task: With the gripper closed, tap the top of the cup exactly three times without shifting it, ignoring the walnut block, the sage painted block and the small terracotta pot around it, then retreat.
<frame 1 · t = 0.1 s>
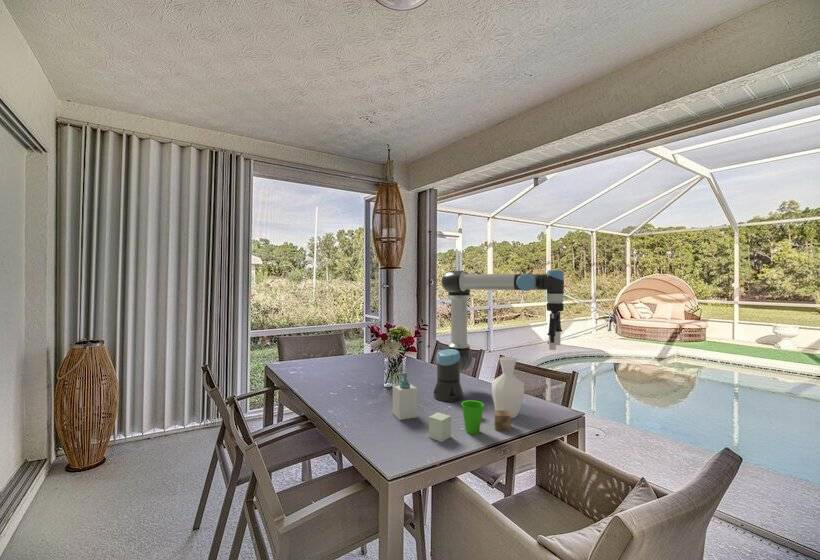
hand: (555, 347, 174), 28 cm above the table, fingers open, 13 cm apart
terracotta pot: (471, 416, 161), on the table
sage block: (439, 437, 140), on the table
soap bottle: (404, 415, 162), on the table
vase: (507, 415, 163), on the table
walnut block: (502, 427, 149), on the table
cup: (472, 432, 145), on the table
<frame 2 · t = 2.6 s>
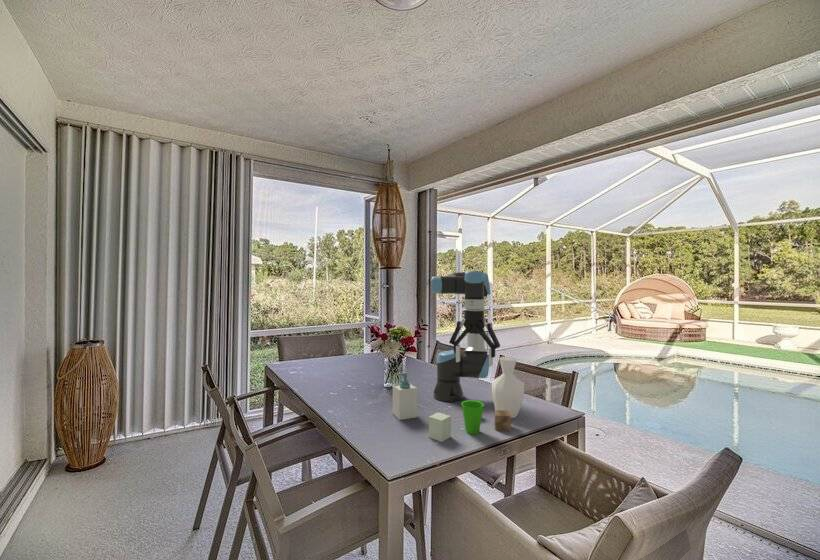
hand: (474, 363, 145), 27 cm above the table, fingers open, 13 cm apart
nothing on the table moved.
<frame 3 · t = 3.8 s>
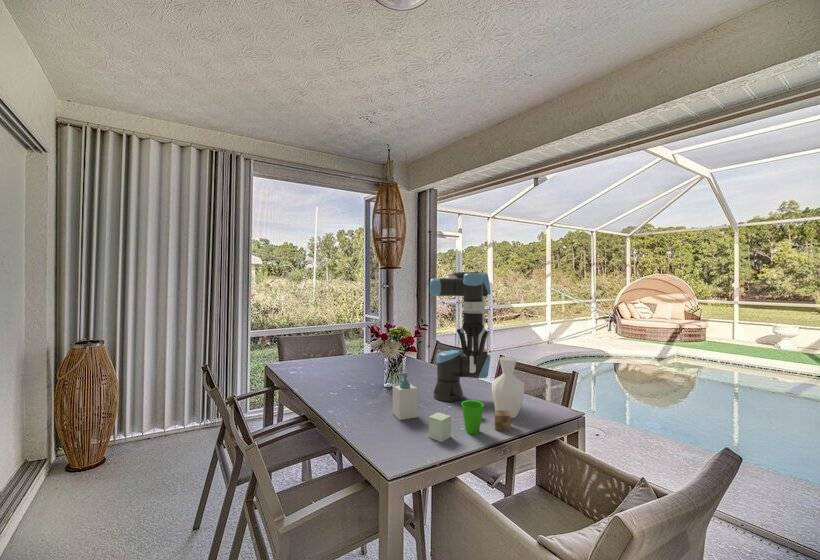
hand: (472, 372, 145), 24 cm above the table, fingers closed
nothing on the table moved.
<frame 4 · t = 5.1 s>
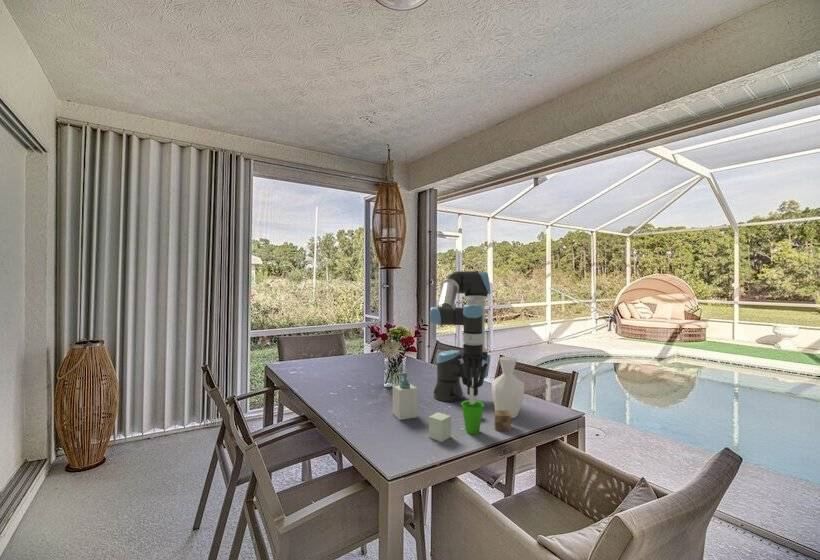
hand: (472, 403, 145), 11 cm above the table, fingers closed
cup: (472, 432, 145), on the table, touching gripper
everything else where it was.
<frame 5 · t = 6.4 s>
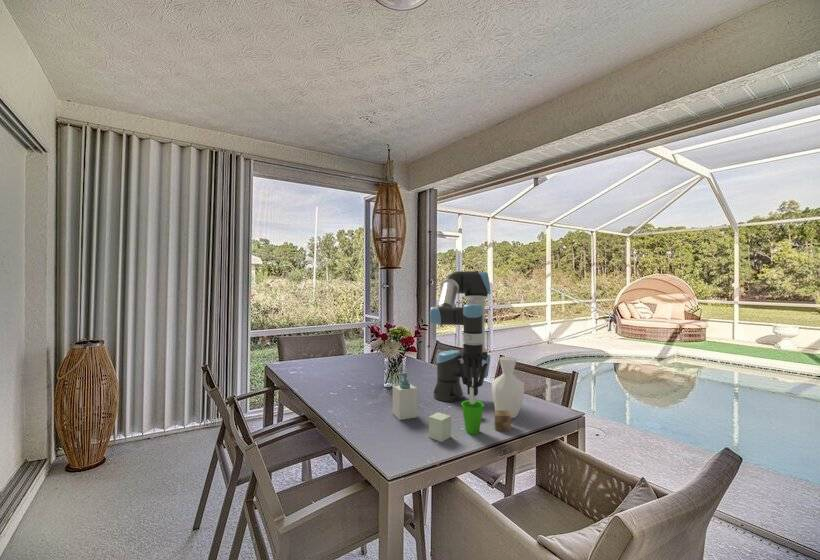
hand: (472, 403, 145), 11 cm above the table, fingers closed
cup: (472, 432, 145), on the table
everything else where it was.
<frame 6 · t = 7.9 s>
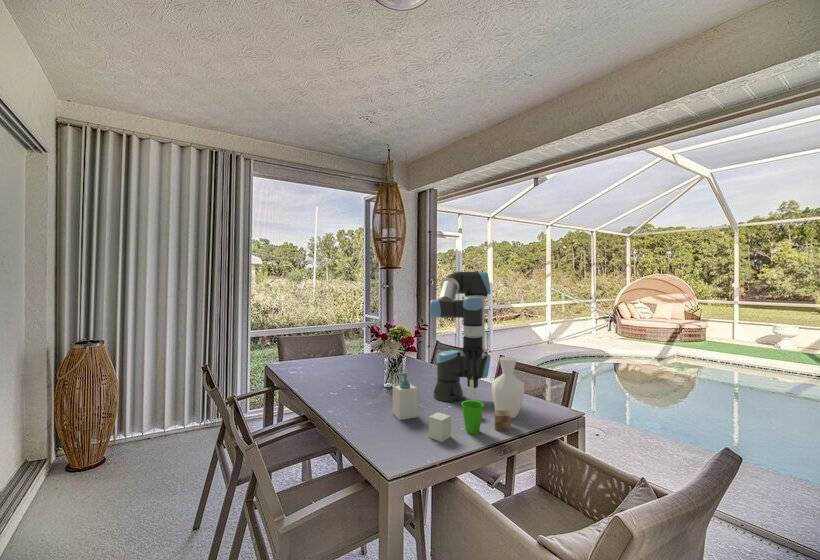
hand: (472, 395, 145), 14 cm above the table, fingers closed
nothing on the table moved.
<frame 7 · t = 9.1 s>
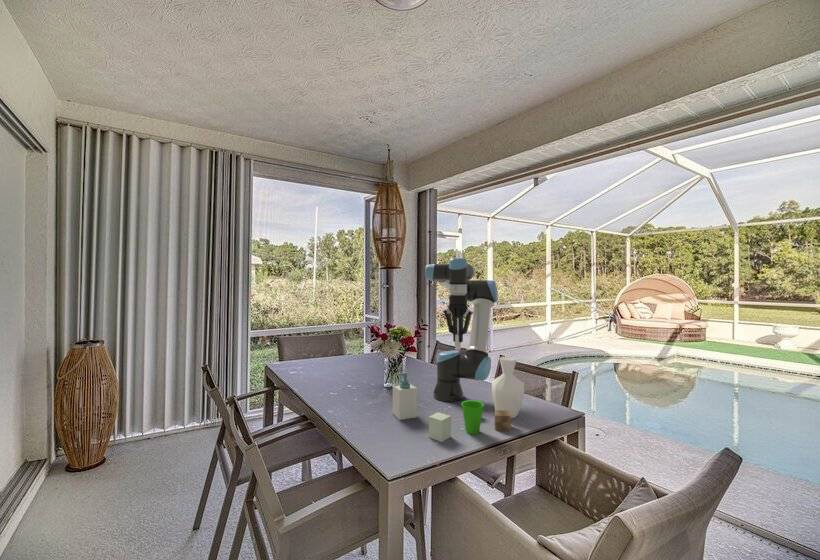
hand: (458, 349, 157), 30 cm above the table, fingers closed
nothing on the table moved.
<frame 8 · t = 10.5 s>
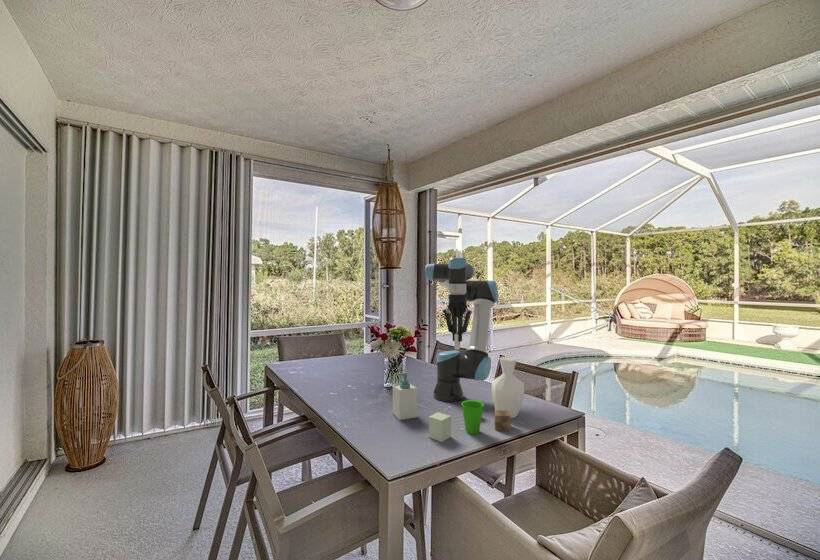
hand: (457, 348, 157), 30 cm above the table, fingers closed
nothing on the table moved.
at the end: cup moved 0.2 cm from its start; cup tilted 0°; the gripper is holding nothing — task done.
